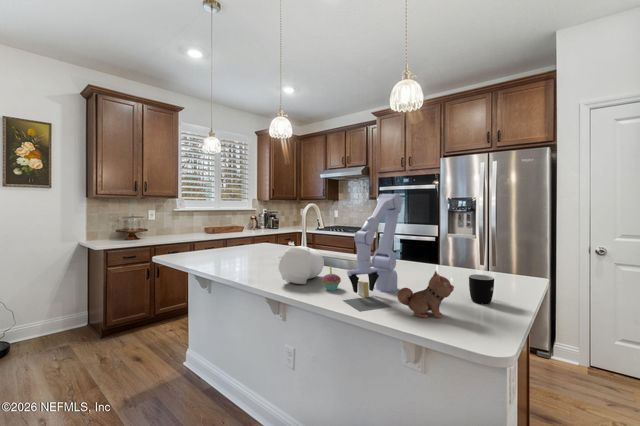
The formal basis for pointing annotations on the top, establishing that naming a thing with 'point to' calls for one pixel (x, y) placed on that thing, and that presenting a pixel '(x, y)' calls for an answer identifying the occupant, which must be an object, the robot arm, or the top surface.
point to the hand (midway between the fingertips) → (363, 291)
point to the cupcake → (331, 280)
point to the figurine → (427, 296)
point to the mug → (481, 288)
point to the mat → (366, 303)
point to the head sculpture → (300, 264)
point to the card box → (363, 289)
